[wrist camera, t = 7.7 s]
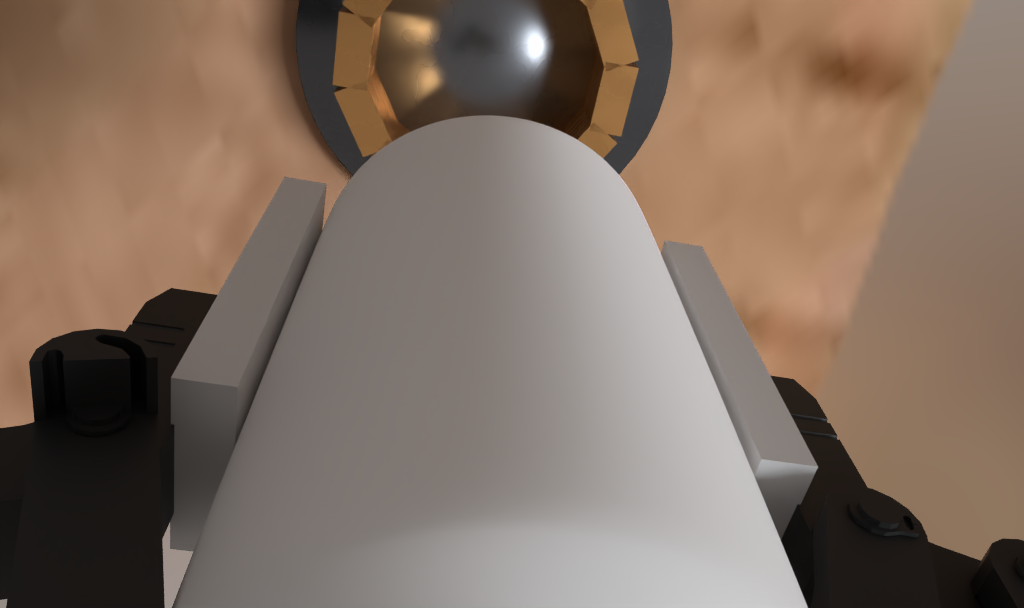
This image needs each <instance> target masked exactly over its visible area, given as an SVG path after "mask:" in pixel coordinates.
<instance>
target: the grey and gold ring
mask: <svg viewBox="0 0 1024 608" xmlns="http://www.w3.org/2000/svg"><path fill="white" fill-rule="evenodd" d="M296 51H297V59H298V67H299V75H300V79H301V82H302V86H303V90H304V94H305V98H306V101H307V103H308V106H309V108H310V111H311V113H312V116H313V118H314V121H315V123H316V125H317V126H318V128H319V130H320V132H321V134H322V135H323V137H324V139H325V141H326V143H327V144H328V145H329V147H330V148H331V150H332V151H333V152H334V154H335V155H336V156H337V158H338V159H339V161H340V162H341V163H342V164H343V165H344V166H345V167H346V168H347V169H348V171H349V172H350V173H351V174H352V175H354V174H355V173H356V172H357V171H358V170H359V169H360V167H361V166H362V165H363V164H364V163H365V162H367V161H368V160H369V159H370V158H371V157H372V156H373V155H374V154H376V153H377V152H378V151H380V150H381V149H382V148H384V147H385V146H386V145H388V144H389V143H391V142H393V141H394V140H396V139H398V138H399V137H401V136H403V135H405V134H407V133H409V132H411V131H414V130H416V129H418V128H421V127H424V126H426V125H429V124H432V123H436V122H439V121H443V120H448V119H453V118H459V117H466V116H480V115H492V116H507V117H514V118H520V119H525V120H529V121H533V122H537V123H540V124H543V125H546V126H549V127H552V128H554V129H557V130H559V131H561V132H563V133H566V134H568V135H569V136H571V137H573V138H575V139H577V140H578V141H580V142H582V143H583V144H585V145H586V146H588V147H589V148H590V149H592V150H593V151H595V152H596V153H597V154H598V155H599V156H601V157H602V158H603V159H604V160H605V161H606V162H607V163H608V164H609V165H610V166H611V167H612V168H613V169H614V170H615V171H616V172H617V173H618V175H619V174H620V173H621V172H622V170H623V169H624V168H625V167H626V166H627V164H628V163H629V162H630V161H631V160H632V159H633V157H634V156H635V155H636V153H637V152H638V150H639V149H640V147H641V145H642V144H643V142H644V141H645V139H646V138H647V136H648V134H649V132H650V130H651V128H652V126H653V124H654V122H655V120H656V118H657V116H658V113H659V110H660V107H661V104H662V101H663V99H664V96H665V93H666V88H667V83H668V78H669V74H670V68H671V56H672V24H671V15H670V9H669V4H668V0H300V1H299V9H298V16H297V24H296Z"/></svg>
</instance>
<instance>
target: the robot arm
mask: <svg viewBox="0 0 1024 608" xmlns="http://www.w3.org/2000/svg"><path fill="white" fill-rule="evenodd" d="M326 185H327V184H325V183H319V182H313V181H307V180H301V179H295V178H289V177H285V178H284V179H283V181H282V183H281V185H280V186H279V188H278V190H277V192H276V193H275V195H274V197H273V199H272V200H271V202H270V204H269V206H268V207H267V209H266V211H265V213H264V214H263V216H262V218H261V220H260V222H259V223H258V225H257V227H256V229H255V230H254V232H253V234H252V236H251V237H250V239H249V241H248V243H247V244H246V246H245V248H244V250H243V251H242V253H241V255H240V257H239V259H238V260H237V262H236V264H235V266H234V267H233V269H232V271H231V273H230V274H229V276H228V278H227V280H226V281H225V283H224V285H223V287H222V288H221V290H220V292H219V294H218V295H214V294H207V293H200V292H194V291H187V290H180V289H174V288H171V289H169V290H167V291H165V292H164V293H162V294H160V295H158V296H156V297H155V298H153V299H151V300H149V301H147V302H146V303H145V304H144V306H143V307H142V309H141V310H140V311H139V313H138V314H137V316H136V317H135V318H134V320H133V323H132V325H129V327H128V328H127V330H126V331H125V332H123V331H120V330H106V329H92V330H83V331H74V332H71V333H68V334H65V335H62V336H59V337H56V338H53V339H51V340H49V341H48V342H46V343H45V344H43V345H42V346H40V347H39V348H37V349H36V351H35V353H34V354H33V356H32V358H31V360H30V361H29V365H30V376H31V387H32V398H33V409H34V420H35V421H34V422H33V423H30V424H26V425H22V426H14V427H7V428H0V600H2V599H7V606H6V608H164V578H163V549H162V538H163V536H164V534H165V531H166V529H167V527H168V525H169V523H170V528H171V529H170V548H171V549H178V550H186V551H194V549H195V547H196V544H197V542H198V539H199V536H200V534H201V531H202V529H203V526H204V524H205V521H206V519H207V516H208V514H209V511H210V509H211V506H212V504H213V501H214V499H215V496H216V493H217V491H218V488H219V486H220V483H221V481H222V478H223V476H224V473H225V471H226V468H227V466H228V463H229V461H230V458H231V455H232V453H233V450H234V448H235V445H236V443H237V440H238V438H239V435H240V433H241V430H242V428H243V425H244V423H245V420H246V418H247V415H248V413H249V410H250V408H251V405H252V403H253V400H254V398H255V395H256V393H257V390H258V388H259V385H260V383H261V380H262V378H263V375H264V373H265V370H266V368H267V365H268V363H269V360H270V358H271V355H272V353H273V350H274V348H275V345H276V343H277V340H278V338H279V335H280V333H281V330H282V328H283V325H284V323H285V321H286V318H287V316H288V313H289V311H290V308H291V306H292V303H293V301H294V298H295V296H296V293H297V291H298V288H299V286H300V283H301V281H302V278H303V276H304V274H305V271H306V269H307V266H308V264H309V261H310V259H311V256H312V254H313V252H314V249H315V247H316V244H317V242H318V240H319V237H320V235H321V233H322V227H323V216H324V206H325V195H326ZM661 255H662V258H663V260H664V262H665V265H666V267H667V270H668V272H669V274H670V277H671V279H672V281H673V284H674V286H675V288H676V291H677V293H678V295H679V298H680V300H681V302H682V305H683V307H684V310H685V312H686V314H687V317H688V319H689V321H690V324H691V326H692V328H693V331H694V333H695V336H696V338H697V340H698V343H699V345H700V347H701V350H702V352H703V355H704V357H705V359H706V362H707V364H708V366H709V369H710V371H711V374H712V376H713V378H714V381H715V383H716V386H717V388H718V390H719V393H720V395H721V398H722V400H723V402H724V405H725V407H726V409H727V412H728V414H729V417H730V419H731V421H732V424H733V426H734V429H735V431H736V433H737V436H738V438H739V441H740V443H741V445H742V448H743V450H744V453H745V455H746V457H747V460H748V462H749V465H750V467H751V470H752V472H753V474H754V477H755V479H756V482H757V484H758V486H759V489H760V491H761V494H762V496H763V499H764V501H765V503H766V506H767V508H768V511H769V513H770V515H771V518H772V520H773V523H774V525H775V528H776V530H777V532H778V535H779V537H780V540H781V542H782V545H783V547H784V550H785V552H786V555H787V557H788V560H789V562H790V565H791V567H792V569H793V572H794V574H795V577H796V579H797V582H798V584H799V587H800V589H801V592H802V594H803V597H804V599H805V602H806V604H807V607H808V608H1024V541H1023V540H1019V539H1001V540H999V541H996V542H994V543H992V544H991V546H990V547H989V549H988V551H987V553H986V554H985V556H984V557H983V559H982V560H981V561H980V560H977V559H974V558H971V557H968V556H966V555H963V554H960V553H957V552H954V551H951V550H949V549H946V548H943V547H940V546H937V545H935V544H933V543H930V542H928V539H927V535H926V533H925V531H924V529H923V527H922V524H921V523H920V521H919V520H918V519H917V518H916V517H915V516H914V515H913V514H912V513H911V512H910V511H909V510H908V509H907V508H906V507H904V506H903V505H902V504H900V503H899V502H897V501H896V500H894V499H893V498H891V497H889V496H887V495H885V494H883V493H880V492H878V491H876V490H873V489H870V488H868V487H867V486H866V484H865V482H864V481H863V479H862V477H861V476H860V474H859V472H858V471H857V469H856V467H855V465H854V464H853V462H852V460H851V458H850V457H849V455H848V453H847V452H846V450H845V448H844V446H843V445H842V443H841V441H840V440H837V434H836V433H835V431H834V429H833V428H832V426H831V424H830V423H827V417H826V416H825V414H824V412H823V410H822V409H821V407H820V405H819V404H818V402H817V400H816V399H815V398H814V397H813V396H812V395H811V394H810V393H809V392H807V391H806V390H805V389H804V388H803V387H802V386H801V385H800V384H798V383H797V382H796V381H795V380H794V379H789V378H782V377H775V376H770V375H769V373H768V371H767V369H766V367H765V365H764V363H763V361H762V359H761V357H760V355H759V354H758V352H757V350H756V348H755V346H754V344H753V342H752V340H751V338H750V336H749V335H748V333H747V331H746V329H745V327H744V325H743V323H742V321H741V319H740V317H739V316H738V314H737V312H736V310H735V308H734V306H733V304H732V302H731V300H730V298H729V297H728V295H727V293H726V291H725V289H724V287H723V285H722V283H721V281H720V279H719V278H718V276H717V274H716V272H715V270H714V268H713V266H712V264H711V262H710V260H709V259H708V257H707V255H706V253H705V251H704V249H703V247H701V246H695V245H689V244H683V243H677V242H671V241H664V245H663V248H662V251H661Z"/></svg>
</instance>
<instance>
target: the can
mask: <svg viewBox="0 0 1024 608" xmlns="http://www.w3.org/2000/svg"><path fill="white" fill-rule="evenodd" d="M172 608H808V607H807V604H806V602H805V599H804V597H803V594H802V592H801V589H800V587H799V584H798V582H797V579H796V577H795V574H794V572H793V569H792V567H791V565H790V562H789V560H788V557H787V555H786V552H785V550H784V547H783V545H782V542H781V540H780V537H779V535H778V532H777V530H776V528H775V525H774V523H773V520H772V518H771V515H770V513H769V511H768V508H767V506H766V503H765V501H764V499H763V496H762V494H761V491H760V489H759V486H758V484H757V482H756V479H755V477H754V474H753V472H752V470H751V467H750V465H749V462H748V460H747V457H746V455H745V453H744V450H743V448H742V445H741V443H740V441H739V438H738V436H737V433H736V431H735V429H734V426H733V424H732V421H731V419H730V417H729V414H728V412H727V409H726V407H725V405H724V402H723V400H722V398H721V395H720V393H719V390H718V388H717V386H716V383H715V381H714V378H713V376H712V374H711V371H710V369H709V366H708V364H707V362H706V359H705V357H704V355H703V352H702V350H701V347H700V345H699V343H698V340H697V338H696V336H695V333H694V331H693V328H692V326H691V324H690V321H689V319H688V317H687V314H686V312H685V310H684V307H683V305H682V302H681V300H680V298H679V295H678V293H677V291H676V288H675V286H674V284H673V281H672V279H671V277H670V274H669V272H668V270H667V267H666V265H665V262H664V260H663V258H662V255H661V253H660V251H659V248H658V246H657V244H656V241H655V239H654V237H653V235H652V232H651V230H650V228H649V226H648V223H647V221H646V219H645V217H644V215H643V213H642V211H641V209H640V207H639V205H638V203H637V201H636V199H635V197H634V196H633V194H632V193H631V191H630V189H629V188H628V186H627V185H626V184H625V182H624V181H623V180H622V178H621V177H620V176H619V175H618V173H617V172H616V171H615V170H614V169H613V168H612V167H611V166H610V165H609V164H608V163H607V162H606V161H605V160H604V159H603V158H602V157H601V156H599V155H598V154H597V153H596V152H595V151H593V150H592V149H590V148H589V147H588V146H586V145H585V144H583V143H582V142H580V141H578V140H577V139H575V138H573V137H571V136H569V135H568V134H566V133H563V132H561V131H559V130H557V129H554V128H552V127H549V126H546V125H543V124H540V123H537V122H533V121H529V120H525V119H520V118H514V117H507V116H492V115H480V116H466V117H459V118H453V119H448V120H443V121H439V122H436V123H432V124H429V125H426V126H424V127H421V128H418V129H416V130H414V131H411V132H409V133H407V134H405V135H403V136H401V137H399V138H398V139H396V140H394V141H393V142H391V143H389V144H388V145H386V146H385V147H384V148H382V149H381V150H380V151H378V152H377V153H376V154H374V155H373V156H372V157H371V158H370V159H369V160H368V161H367V162H365V163H364V164H363V165H362V166H361V167H360V169H359V170H358V171H357V172H356V173H355V174H354V175H353V177H352V178H351V179H350V180H349V182H348V183H347V185H346V186H345V187H344V189H343V190H342V192H341V194H340V195H339V197H338V199H337V200H336V202H335V204H334V206H333V208H332V210H331V212H330V214H329V217H328V219H327V221H326V223H325V225H324V228H323V230H322V233H321V235H320V237H319V240H318V242H317V244H316V247H315V249H314V252H313V254H312V256H311V259H310V261H309V264H308V266H307V269H306V271H305V274H304V276H303V278H302V281H301V283H300V286H299V288H298V291H297V293H296V296H295V298H294V301H293V303H292V306H291V308H290V311H289V313H288V316H287V318H286V321H285V323H284V325H283V328H282V330H281V333H280V335H279V338H278V340H277V343H276V345H275V348H274V350H273V353H272V355H271V358H270V360H269V363H268V365H267V368H266V370H265V373H264V375H263V378H262V380H261V383H260V385H259V388H258V390H257V393H256V395H255V398H254V400H253V403H252V405H251V408H250V410H249V413H248V415H247V418H246V420H245V423H244V425H243V428H242V430H241V433H240V435H239V438H238V440H237V443H236V445H235V448H234V450H233V453H232V455H231V458H230V461H229V463H228V466H227V468H226V471H225V473H224V476H223V478H222V481H221V483H220V486H219V488H218V491H217V493H216V496H215V499H214V501H213V504H212V506H211V509H210V511H209V514H208V516H207V519H206V521H205V524H204V526H203V529H202V531H201V534H200V536H199V539H198V542H197V544H196V547H195V549H194V552H193V555H192V557H191V560H190V563H189V565H188V568H187V570H186V573H185V575H184V578H183V581H182V583H181V586H180V588H179V591H178V593H177V596H176V599H175V601H174V604H173V606H172Z"/></svg>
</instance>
